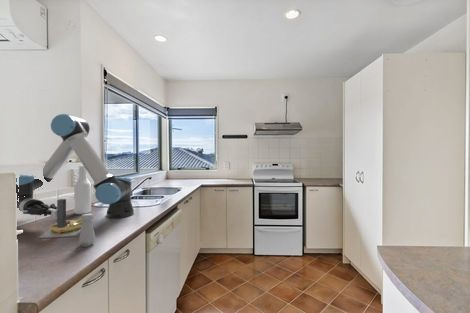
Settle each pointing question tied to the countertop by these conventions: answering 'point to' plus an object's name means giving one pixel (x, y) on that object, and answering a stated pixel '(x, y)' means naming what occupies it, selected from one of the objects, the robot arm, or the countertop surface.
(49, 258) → the countertop surface
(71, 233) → the flange plate
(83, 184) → the alcohol
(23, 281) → the countertop surface
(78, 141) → the robot arm
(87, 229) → the salt shaker
